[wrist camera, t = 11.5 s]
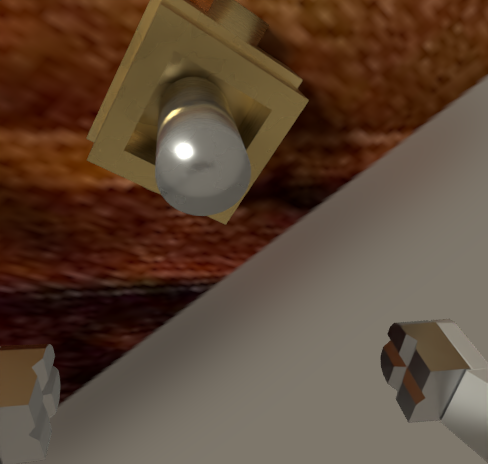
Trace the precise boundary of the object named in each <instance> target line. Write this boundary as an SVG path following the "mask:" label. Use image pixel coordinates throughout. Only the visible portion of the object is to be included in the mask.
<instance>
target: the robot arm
mask: <svg viewBox="0 0 488 464" xmlns="http://www.w3.org/2000/svg"><path fill="white" fill-rule="evenodd" d="M388 336H389V337H390V339H391V341H389V342H388V343H387V344H386V345H385V346H384V347H383V350H382V353H381V368H382V372H383V375H384V377H385V379H386V381H387V383H388V384H389V385H390V386H391V387H393V388H394V389H396V390H397V391H398V392H397V396H396V400H397V402H398V404H399V406H400V407H401V409H402V411H403V413H404V415H405V417H406V419H407V420H408V422H424V421H437V420H441V423H442V424H443V425H445V426H446V427H447V428H448V429H449V430H451V431H452V432H453V433H454V434H455V435H456V436H457V437H458V438H460V439H461V440H462V441H463V442H464V443H466V444H467V445H468V446H469V447H470V448H471V449H473V450H474V451H475V452H476V453H477V454H478V455H479V456H481V457H482V458H483V459H484V460H485V461H486V462H487V463H488V363H487V361H486V360H485V359H484V358H483V356H482V355H481V354H480V353H479V351H478V350H477V349H476V348H475V347H474V345H473V344H472V343H471V341H470V340H469V339H468V338H467V337H466V336H465V334H464V333H463V332H462V330H461V329H460V328H459V327H458V325H457V324H456V323H455V322H453V321H452V320H450V319H443V320H431V321H415V322H401V323H394V324H393V325H392V326H391V327H390V329H389V332H388ZM54 357H55V355H54V351H53V347H52V345H50V344H42V345H15V346H1V347H0V464H18V463H26V462H34V461H41V460H45V457H46V453H47V449H48V445H49V441H50V436H51V433H52V430H51V425H50V421H49V419H50V418H51V417H52V416H53V415H54V414H55V413H56V412H57V407H58V403H59V395H60V377H59V373H58V369H56V368H55V367H53V366H52V364H53V361H54Z"/></svg>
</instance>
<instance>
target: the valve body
mask: <svg viewBox="0 0 488 464" xmlns="http://www.w3.org/2000/svg"><path fill="white" fill-rule="evenodd" d="M268 26H269V25H268V24H267V23H266V22H264V21H263V20H262V19H260V18H259V17H257V16H256V15H254V14H253V13H252V12H250V11H249V10H247V9H246V8H245V7H243V6H242V5H240V4H239V3H237V2H236V1H235V0H214V1H213V3H212V5H211V7H210V9H209V10H208V12H206V11H204V10H203V9H201V8H200V7H198V6H197V5H195V4H194V3H192V2H191V1H189V0H150V2H149V4H148V6H147V8H146V10H145V13H144V15H143V17H142V19H141V21H140V23H139V26H138V28H137V30H136V32H135V34H134V36H133V39H132V41H131V43H130V45H129V47H128V49H127V52H126V54H125V56H124V58H123V60H122V62H121V64H120V67H119V69H118V71H117V73H116V75H115V77H114V80H113V82H112V84H111V86H110V88H109V90H108V93H107V95H106V97H105V99H104V101H103V103H102V106H101V108H100V110H99V112H98V114H97V116H96V119H95V121H94V123H93V125H92V127H91V129H90V132H89V134H88V136H87V138H86V139H88V140H90V141H92V142H94V144H93V147H92V149H91V151H90V154H89V156H88V159H87V161H89V162H92V163H94V164H96V165H98V166H100V167H102V168H105V169H107V170H109V171H111V172H113V173H115V174H118V175H120V176H122V177H124V178H126V179H128V180H130V181H133V182H135V183H137V184H139V185H141V186H143V187H145V188H146V189H148V190H151V191H153V192H156V193H159V194H161V193H160V191H159V189H158V187H157V183H156V179H155V163H156V146H157V129H158V113H159V103H160V100H161V97H162V95H163V93H164V92H165V90H166V89H167V88H168V87H169V86H170V85H171V84H173V83H174V82H176V81H177V80H180V79H182V78H186V77H200V78H204V79H207V80H209V81H211V82H212V83H214V84H215V85H216V86H218V87H219V88H220V90H221V91H222V92H223V94H224V95H225V97H226V100H227V102H228V105H229V107H230V110H231V113H232V115H233V118H234V121H235V123H236V126H237V128H238V131H239V134H240V136H241V139H242V141H243V144H244V147H245V149H246V152H247V155H248V157H249V160H250V165H251V178H250V182H249V185H248V188H247V190H246V192H245V193H244V195H243V196H242V198H241V199H240V200H239V201H238V202H237V203H236V204H234V205H233V206H232V207H230V208H229V209H227V210H225V211H223V212H220V213H217V214H213V215H207V216H208V217H210V218H213V219H215V220H217V221H219V222H221V223H223V224H226V223H227V222H228V220H229V219H230V217H231V216H232V214H233V213H234V211H235V210H236V208H237V207H238V205H239V204H240V202H241V201H242V200H243V198H244V197H245V195H246V194H247V192H248V191H249V189H250V188H251V186H252V185H253V183H254V182H255V180H256V179H257V177H258V176H259V174H260V173H261V171H262V170H263V168H264V167H265V165H266V164H267V162H268V161H269V159H270V158H271V156H272V155H273V153H274V152H275V150H276V149H277V147H278V146H279V144H280V143H281V141H282V140H283V138H284V137H285V136H286V134H287V133H288V131H289V130H290V128H291V127H292V125H293V124H294V122H295V121H296V119H297V118H298V116H299V115H300V113H301V112H302V110H303V109H304V107H305V106H306V104H307V103H308V101H309V100H308V99H307V98H306V97H305V96H304V95H303V94H302V93H301V92H300V91H299V90H298V87H299V85H300V84H301V82H302V81H303V80H302V79H301V78H300V77H299V76H298V75H297V74H296V73H294V72H293V71H292V70H291V69H290V68H289V67H288V66H286V65H285V64H283V63H282V62H280V61H279V60H277V59H276V58H274V57H273V56H271V55H270V54H268V53H267V52H265V51H264V50H262V49H261V48H259V47H258V46H257V45H258V43H259V42H260V40H261V38H262V37H263V35H264V33H265V32H266V30H267V28H268Z"/></svg>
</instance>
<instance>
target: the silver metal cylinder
mask: <svg viewBox="0 0 488 464" xmlns="http://www.w3.org/2000/svg"><path fill="white" fill-rule="evenodd" d="M250 178H251V165H250V160H249V157H248V155H247V152H246V149H245V147H244V144H243V141H242V139H241V136H240V134H239V131H238V128H237V126H236V123H235V121H234V118H233V115H232V113H231V110H230V107H229V105H228V102H227V100H226V97H225V95H224V94H223V92H222V91H221V90H220V88H219V87H218V86H216V85H215V84H214V83H212V82H211V81H209V80H207V79H204V78H200V77H186V78H182V79H180V80H177V81H176V82H174V83H173V84H171V85H170V86H169V87H168V88H167V89H166V90H165V92H164V93H163V95H162V97H161V100H160V103H159V113H158V129H157V146H156V163H155V179H156V183H157V187H158V189H159V191H160V193H161V195H162V196H163V198H164V199H165V200H166V201H167V202H168V203H169V204H170V205H171V206H173V207H174V208H176V209H178V210H180V211H182V212H184V213H187V214H191V215H197V216H207V215H213V214H217V213H220V212H223V211H225V210H227V209H229V208H230V207H232V206H233V205H234V204H236V203H237V202H238V201H239V200H240V199H241V198H242V196H243V195H244V193H245V192H246V190H247V188H248V185H249V182H250Z"/></svg>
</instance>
